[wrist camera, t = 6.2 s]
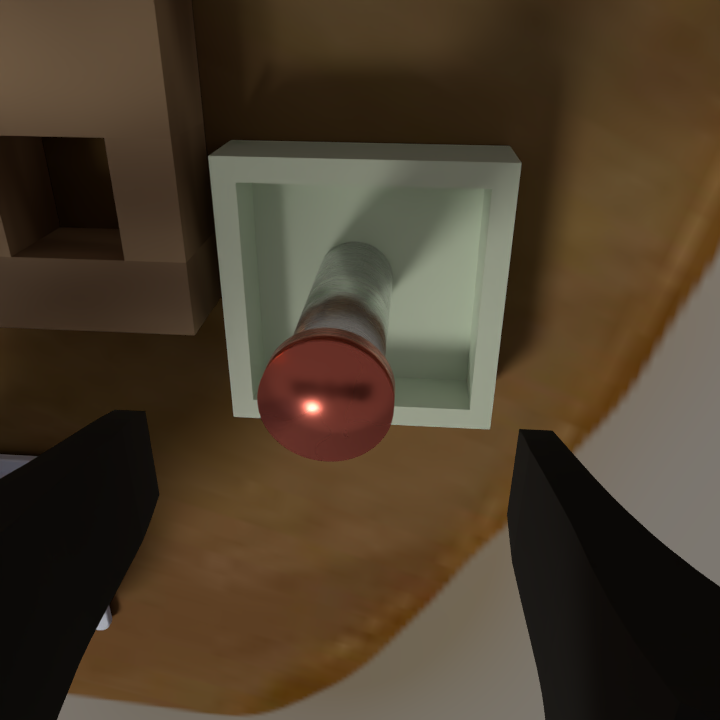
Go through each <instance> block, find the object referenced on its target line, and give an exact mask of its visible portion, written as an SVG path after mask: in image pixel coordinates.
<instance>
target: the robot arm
mask: <svg viewBox="0 0 720 720" xmlns="http://www.w3.org/2000/svg"><path fill="white" fill-rule="evenodd" d="M158 497H159V489H158V484H157V478H156V472H155V466H154V460H153V454H152V449H151V443H150V437H149V431H148V425H147V419H146V413H145V411H129V410H114V411H112V412H110V413H108V414H106V415H104V416H102V417H101V418H99V419H97V420H96V421H94V422H92V423H91V424H89V425H87V426H86V427H84V428H83V429H81V430H79V431H78V432H76V433H75V434H73V435H71V436H70V437H68V438H67V439H65V440H63V441H62V442H60V443H59V444H57V445H55V446H54V447H52V448H51V449H49V450H47V451H46V452H44V453H43V454H41V455H39V456H25V455H6V454H0V720H57V718H58V715H59V713H60V710H61V707H62V705H63V703H64V700H65V698H66V695H67V693H68V690H69V688H70V685H71V683H72V680H73V678H74V676H75V673H76V671H77V668H78V666H79V663H80V661H81V659H82V657H83V655H84V653H85V650H86V648H87V646H88V644H89V642H90V640H91V638H92V636H93V634H94V632H95V630H105V629H107V628H108V627H109V626H110V624H111V622H112V615H111V611H110V607H109V604H110V602H111V600H112V598H113V597H114V595H115V593H116V591H117V589H118V587H119V585H120V583H121V582H122V580H123V578H124V576H125V574H126V572H127V570H128V568H129V566H130V564H131V563H132V561H133V559H134V557H135V555H136V553H137V551H138V549H139V547H140V545H141V543H142V541H143V539H144V536H145V534H146V531H147V528H148V526H149V523H150V520H151V518H152V515H153V512H154V509H155V506H156V503H157V500H158ZM507 517H508V528H509V538H510V547H511V556H512V563H513V568H514V572H515V576H516V581H517V585H518V590H519V594H520V598H521V603H522V607H523V611H524V615H525V620H526V624H527V628H528V632H529V636H530V640H531V645H532V649H533V653H534V657H535V662H536V666H537V670H538V676H539V681H540V685H541V691H542V697H543V705H544V712H545V720H720V587H719V586H718V585H717V584H715V583H714V582H712V581H711V580H710V579H708V578H707V577H705V576H704V575H703V574H701V573H700V572H699V571H697V570H696V569H695V568H693V567H692V566H691V565H690V564H688V563H687V562H686V561H684V560H683V559H682V558H681V557H679V556H678V555H677V554H676V553H674V552H673V551H672V550H670V549H669V548H668V547H667V546H665V545H664V544H663V543H662V542H661V541H660V540H658V539H657V538H656V537H655V536H653V534H651V533H650V532H649V531H648V530H647V529H646V528H645V527H644V526H643V525H641V524H640V523H639V522H638V521H637V520H636V519H635V518H634V517H633V516H632V515H631V514H629V513H628V512H627V511H626V510H625V509H624V508H623V507H622V506H621V505H620V504H619V503H618V502H617V501H616V500H615V499H614V498H613V497H612V496H611V495H610V494H609V493H608V492H607V491H606V490H605V488H603V486H602V485H601V484H600V483H599V482H598V481H597V480H596V479H595V478H594V477H593V476H592V475H591V474H590V472H589V471H588V470H587V469H586V468H585V467H584V466H583V465H582V463H581V462H580V461H579V460H578V459H577V458H576V457H575V456H574V454H573V453H572V452H571V451H570V450H569V449H568V448H567V446H566V445H565V444H564V443H563V442H562V441H561V440H560V439H559V437H558V436H557V435H556V434H555V433H554V432H553V431H547V430H527V429H519V435H518V442H517V449H516V456H515V463H514V470H513V477H512V484H511V491H510V498H509V505H508V512H507Z"/></svg>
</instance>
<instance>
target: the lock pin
mask: <svg viewBox="0 0 720 720" xmlns="http://www.w3.org/2000/svg"><path fill="white" fill-rule="evenodd" d="M392 283H393V273H392V268H391V266H390V263H389V261H388V260H387V258H386V257H385V255H384V254H383V253H382V252H381V251H379V250H378V249H377V248H375V247H374V246H371V245H369V244H366V243H363V242H346V243H343V244H340V245H338V246H336V247H334V248H333V249H331V250H330V251H329V252H328V253H327V254H326V255H325V257H324V258H323V260H322V262H321V264H320V267H319V270H318V272H317V275H316V277H315V280H314V282H313V285H312V288H311V290H310V293H309V295H308V298H307V301H306V303H305V306H304V308H303V311H302V313H301V316H300V319H299V321H298V324H297V326H296V329H295V331H294V334H293V336H291V337H290V338H288V339H287V340H285V341H284V342H283V343H282V344H280V346H279V347H278V348H277V349H276V350H275V351H274V353H273V354H272V356H271V358H270V360H269V362H268V364H267V366H266V369H265V371H264V373H263V376H262V378H261V381H260V384H259V387H258V394H257V404H258V410H259V413H260V416H261V419H262V421H263V423H264V425H265V427H266V428H267V430H268V431H269V433H270V434H271V435H272V436H273V437H274V438H275V439H276V440H277V441H278V442H279V443H280V444H281V445H283V446H284V447H285V448H287V449H288V450H290V451H292V452H294V453H296V454H298V455H300V456H303V457H306V458H309V459H313V460H318V461H342V460H348V459H352V458H355V457H357V456H360V455H362V454H364V453H366V452H368V451H369V450H371V449H372V448H374V447H375V446H376V445H377V444H378V443H379V442H380V441H381V440H382V439H383V438H384V436H385V435H386V433H387V431H388V430H389V428H390V425H391V423H392V419H393V415H394V401H395V380H394V375H393V372H392V369H391V367H390V365H389V363H388V361H387V359H386V358H385V355H386V345H387V334H388V324H389V314H390V304H391V293H392Z"/></svg>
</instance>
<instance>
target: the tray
mask: <svg viewBox="0 0 720 720" xmlns="http://www.w3.org/2000/svg"><path fill="white" fill-rule="evenodd" d="M208 160H209V170H210V180H211V190H212V201H213V211H214V221H215V231H216V241H217V252H218V262H219V272H220V282H221V293H222V303H223V313H224V323H225V333H226V344H227V354H228V364H229V374H230V384H231V395H232V405H233V415H234V417H247V418H261V416H260V413H259V410H258V404H257V394H258V387H259V384H260V381H261V378H262V376H263V373H264V371H265V369H266V366H267V364H268V362H269V360H270V358H271V356H272V354H273V353H274V351H275V350H276V349H277V348H278V347H279V346H280V344H282V343H283V342H284V341H285V340H287V339H288V338H290V337H291V336H293V334H294V331H295V329H296V326H297V324H298V321H299V319H300V316H301V313H302V311H303V308H304V306H305V303H306V301H307V298H308V295H309V293H310V290H311V288H312V285H313V282H314V280H315V277H316V275H317V272H318V270H319V267H320V264H321V262H322V260H323V258H324V257H325V255H326V254H327V253H328V252H329V251H330V250H331V249H333V248H334V247H336V246H338V245H340V244H343V243H346V242H363V243H366V244H369V245H371V246H374V247H375V248H377V249H378V250H379V251H381V252H382V253H383V254H384V255H385V257H386V258H387V260H388V261H389V263H390V266H391V268H392V273H393V283H392V293H391V304H390V314H389V324H388V334H387V345H386V355H385V358H386V359H387V361H388V363H389V365H390V367H391V369H392V372H393V375H394V380H395V401H394V415H393V419H392V423H391V425H411V426H432V427H452V428H473V429H490V425H491V416H492V408H493V399H494V391H495V383H496V374H497V366H498V357H499V349H500V341H501V332H502V324H503V316H504V307H505V299H506V290H507V282H508V274H509V265H510V257H511V248H512V240H513V232H514V223H515V215H516V206H517V198H518V190H519V181H520V173H521V164H522V163H521V161H520V160H519V158H518V157H517V155H516V154H515V152H514V151H513V150H512V148H511V147H510V146H495V145H447V144H400V143H353V142H306V141H259V140H230V141H229V142H227V143H226V144H224V145H223V146H222V147H220V148H219V149H217V150H216V151H214V152H213V153H212V154H210V155H209V156H208Z"/></svg>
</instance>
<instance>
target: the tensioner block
mask: <svg viewBox="0 0 720 720" xmlns="http://www.w3.org/2000/svg"><path fill="white" fill-rule="evenodd" d="M41 136H42V137H89V138H104V140H105V146H106V152H107V158H108V164H109V170H110V176H111V182H112V188H113V194H114V200H115V206H116V212H117V218H118V224H119V229H104V228H71V227H60V224H59V219H58V215H57V210H56V205H55V200H54V196H53V191H52V186H51V181H50V177H49V172H48V167H47V162H46V157H45V153H44V148H43V143H42V138H41ZM220 298H221V293H220V283H219V273H218V263H217V253H216V243H215V232H214V222H213V212H212V202H211V192H210V182H209V172H208V162H207V151H206V141H205V131H204V121H203V111H202V101H201V91H200V80H199V70H198V60H197V50H196V40H195V30H194V20H193V10H192V0H0V327H4V328H28V329H53V330H77V331H102V332H126V333H151V334H175V335H195V334H196V333H197V331H198V330H199V328H200V327H201V326H202V324H203V323H204V321H205V320H206V318H207V317H208V315H209V314H210V312H211V311H212V310H213V308H214V307H215V305H216V304H217V302H218V301H219V299H220Z"/></svg>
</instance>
